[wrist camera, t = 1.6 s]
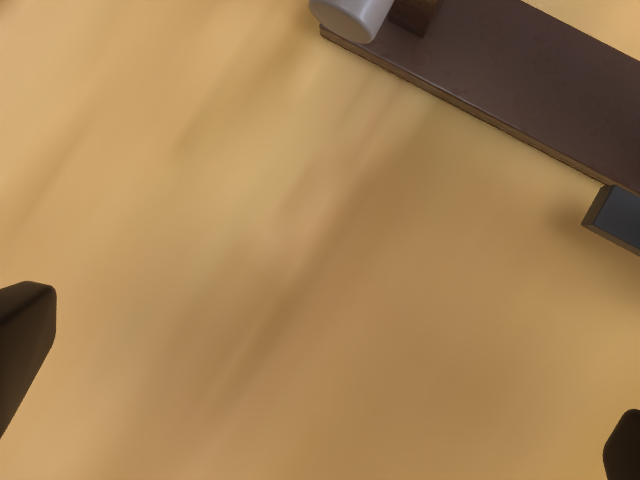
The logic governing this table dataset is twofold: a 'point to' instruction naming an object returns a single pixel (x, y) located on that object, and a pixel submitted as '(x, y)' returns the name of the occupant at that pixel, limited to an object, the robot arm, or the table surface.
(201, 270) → the table surface
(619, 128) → the rack
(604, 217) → the black piece
